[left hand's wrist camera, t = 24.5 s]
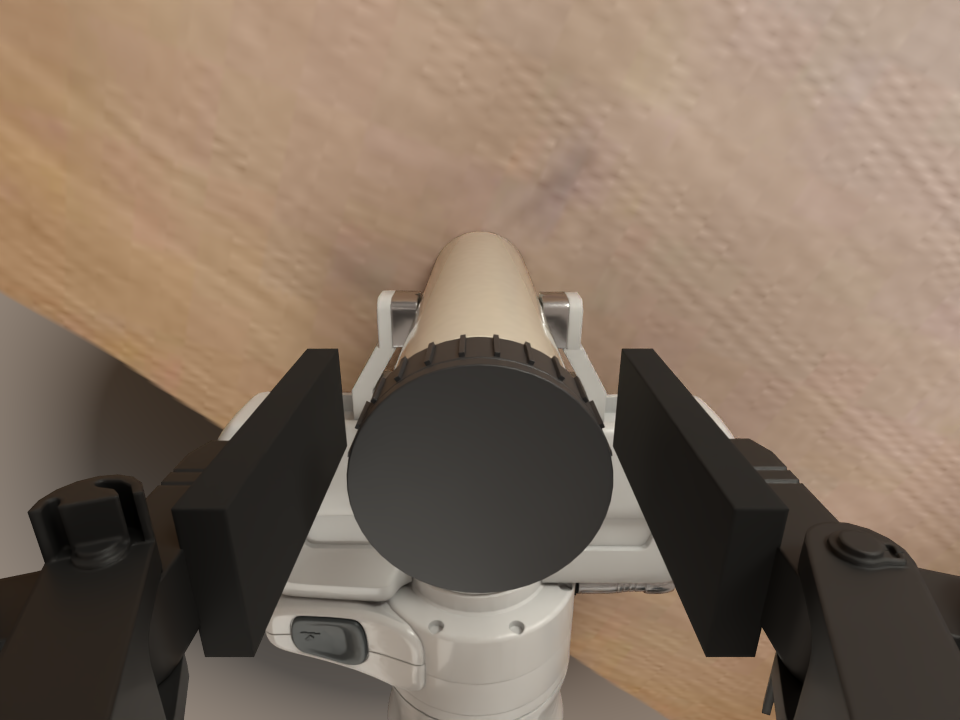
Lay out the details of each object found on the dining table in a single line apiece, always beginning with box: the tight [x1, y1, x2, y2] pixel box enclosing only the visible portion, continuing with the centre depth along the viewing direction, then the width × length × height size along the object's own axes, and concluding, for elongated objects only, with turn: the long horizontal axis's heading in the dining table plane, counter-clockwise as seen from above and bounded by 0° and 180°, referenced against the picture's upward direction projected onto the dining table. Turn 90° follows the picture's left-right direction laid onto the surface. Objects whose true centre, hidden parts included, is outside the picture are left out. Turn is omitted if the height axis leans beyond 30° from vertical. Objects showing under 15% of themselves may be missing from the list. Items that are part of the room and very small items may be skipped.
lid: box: [346, 334, 613, 593], centre depth 11 cm, size 5×5×2 cm
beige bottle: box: [394, 232, 566, 369], centre depth 19 cm, size 5×5×17 cm
